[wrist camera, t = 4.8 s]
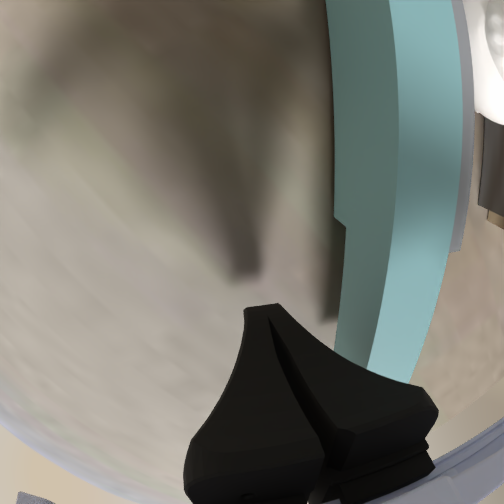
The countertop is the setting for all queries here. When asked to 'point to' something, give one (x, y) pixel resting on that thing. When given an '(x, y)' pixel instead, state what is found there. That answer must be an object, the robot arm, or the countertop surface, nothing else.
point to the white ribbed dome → (487, 55)
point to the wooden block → (493, 173)
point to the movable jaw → (398, 168)
